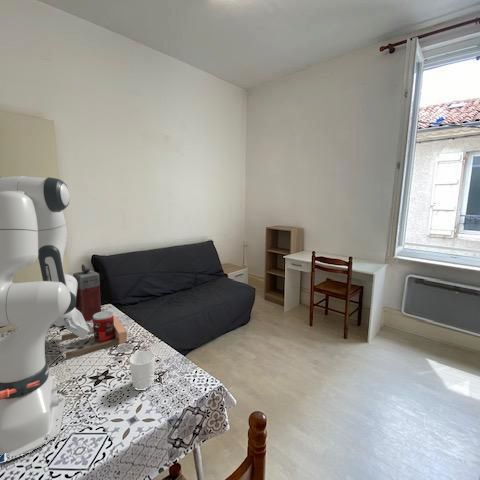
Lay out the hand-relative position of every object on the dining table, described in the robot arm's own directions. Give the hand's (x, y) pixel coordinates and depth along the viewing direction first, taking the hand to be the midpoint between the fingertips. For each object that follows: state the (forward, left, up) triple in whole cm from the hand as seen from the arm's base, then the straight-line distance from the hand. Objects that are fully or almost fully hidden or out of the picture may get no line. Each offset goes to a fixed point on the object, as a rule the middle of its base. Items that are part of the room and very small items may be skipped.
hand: (92, 330), depth 115 cm
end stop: (0, -10, -5) cm, 11 cm away
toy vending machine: (+26, -2, -5) cm, 26 cm away
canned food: (0, -5, -5) cm, 7 cm away
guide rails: (0, +1, -5) cm, 5 cm away
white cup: (-39, -8, -5) cm, 40 cm away
